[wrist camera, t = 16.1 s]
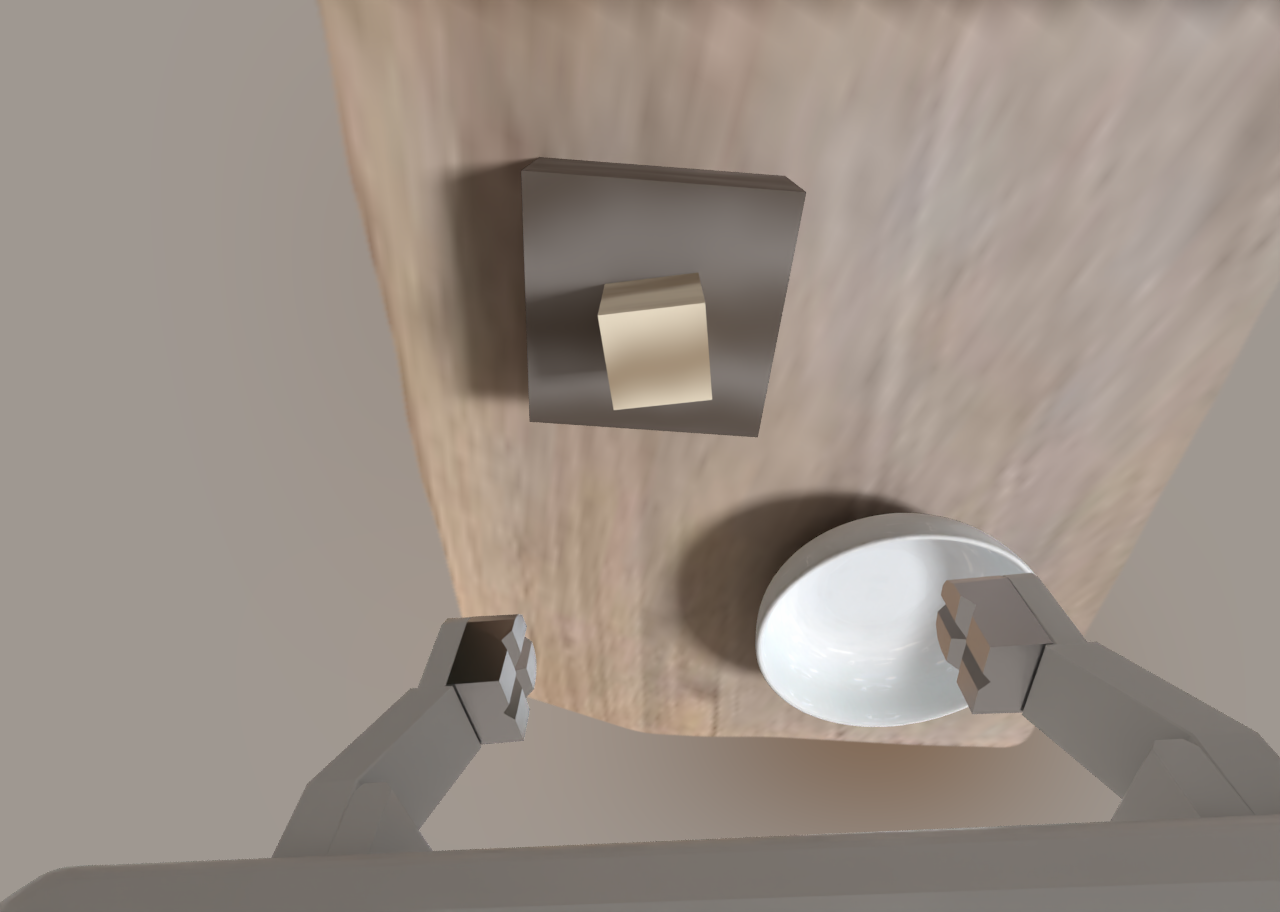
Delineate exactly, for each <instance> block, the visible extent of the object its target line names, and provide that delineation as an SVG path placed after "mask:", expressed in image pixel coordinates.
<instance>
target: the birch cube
mask: <svg viewBox="0 0 1280 912" xmlns="http://www.w3.org/2000/svg"><path fill="white" fill-rule="evenodd" d="M598 321H599V327H600V332H601V338H602V344H603V350H604V356H605V362H606V368H607V374H608V379H609V385H610V391H611V397H612V403H613V409H614V410H621V409H630V408H640V407H649V406H659V405H668V404H678V403H687V402H696V401H706V400H712V389H711V376H710V362H709V348H708V334H707V320H706V306H705V300H704V295H703V291H702V287H701V282H700V278H699V273H690V274H682V275H674V276H666V277H658V278H650V279H642V280H634V281H625V282H617V283H609V284H605V285H604V290H603V294H602V299H601V303H600V307H599V312H598Z"/></svg>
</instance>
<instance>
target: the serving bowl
mask: <svg viewBox="0 0 1280 912" xmlns="http://www.w3.org/2000/svg"><path fill="white" fill-rule="evenodd" d="M1023 573H1033V574H1034V572H1033V571H1032V570H1031V569H1030V568H1029V566H1028V565H1027V564H1025V563H1024V562H1023V561H1022V560H1021V559H1020V558H1019V557H1018V556H1017V555H1016V554H1015V553H1013V552H1012V551H1011V550H1010V549H1009V548H1007V547H1006V546H1005V545H1004V544H1002V543H1001V542H1000V541H998V540H997V539H995V538H994V537H992V536H990V535H988V534H987V533H985V532H983V531H981V530H979V529H977V528H975V527H973V526H970V525H968V524H965V523H963V522H960V521H957V520H953V519H949V518H945V517H941V516H935V515H930V514H920V513H891V514H882V515H876V516H870V517H866V518H862V519H858V520H855V521H852V522H848V523H846V524H843V525H840V526H838V527H835V528H833V529H831V530H829V531H827V532H825V533H823V534H821V535H819V536H817V537H816V538H814V539H813V540H811V541H810V542H808V543H807V544H805V545H804V546H803V547H801V548H800V549H799V550H798V551H797V552H795V553H794V554H793V555H792V556H791V557H790V558H789V559H788V560H787V561H786V562H785V563H784V564H783V565H782V567H781V568H780V569H779V571H778V572H777V573H776V575H775V576H774V577H773V579H772V580H771V582H770V584H769V586H768V588H767V590H766V592H765V594H764V596H763V599H762V602H761V605H760V608H759V612H758V618H757V624H756V641H755V649H756V657H757V661H758V665H759V668H760V670H761V673H762V675H763V676H764V678H765V680H766V682H767V683H768V684H769V686H770V687H771V688H772V689H773V690H774V691H775V692H776V693H777V694H778V695H779V696H780V697H781V698H782V699H783V700H785V701H786V702H787V703H789V704H790V705H792V706H793V707H795V708H797V709H799V710H800V711H802V712H804V713H806V714H809V715H811V716H814V717H817V718H820V719H823V720H826V721H830V722H834V723H839V724H845V725H852V726H863V727H890V726H899V725H907V724H913V723H919V722H924V721H928V720H932V719H936V718H939V717H942V716H946V715H948V714H951V713H954V712H957V711H959V710H962V709H964V708H966V707H969V706H968V704H967V702H966V700H965V698H964V696H963V694H962V692H961V690H960V688H959V686H958V684H957V678H958V673H959V670H958V669H956V668H955V667H954V666H952V665H951V664H949V663H948V662H947V661H946V659H945V657H944V655H943V653H942V651H941V648H940V645H939V642H938V638H937V630H936V620H937V612H938V611H939V610H940V609H941V608H942V607H943V606H944V605H945V602H944V600H943V598H942V596H941V592H942V587H943V584H944V583H945V582H946V580H953V579H965V578H976V577H987V576H998V575H1000V576H1003V575H1012V574H1023Z"/></svg>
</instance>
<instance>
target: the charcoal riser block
mask: <svg viewBox="0 0 1280 912" xmlns="http://www.w3.org/2000/svg"><path fill="white" fill-rule="evenodd" d="M521 181H522V211H523V240H524V269H525V299H526V328H527V357H528V387H529V416H530V422H543V423H557V424H572V425H586V426H601V427H616V428H630V429H645V430H659V431H674V432H689V433H703V434H718V435H733V436H747V437H758V433H759V428H760V423H761V418H762V413H763V408H764V403H765V398H766V393H767V388H768V383H769V377H770V372H771V367H772V362H773V357H774V352H775V347H776V342H777V337H778V332H779V327H780V322H781V317H782V312H783V307H784V302H785V297H786V292H787V287H788V281H789V276H790V271H791V266H792V261H793V256H794V251H795V246H796V241H797V236H798V231H799V226H800V221H801V216H802V211H803V206H804V201H805V196H806V192H805V191H804V190H803V189H801V188H800V187H799V186H797V185H796V184H795V183H794V182H792V181H791V180H790V179H788V178H787V177H786V176H778V175H765V174H752V173H739V172H726V171H713V170H700V169H687V168H674V167H661V166H648V165H634V164H621V163H608V162H595V161H582V160H569V159H556V158H543V157H539V158H538V159H537V160H535V161H534V162H532V163H531V164H530V165H528V166H527V167H525V168H524V169H523V170H521ZM690 273H699V278H700V282H701V287H702V291H703V295H704V300H705V306H706V320H707V334H708V348H709V362H710V376H711V389H712V400H706V401H696V402H687V403H678V404H668V405H659V406H649V407H640V408H630V409H621V410H614V409H613V403H612V397H611V391H610V385H609V379H608V374H607V368H606V362H605V356H604V350H603V344H602V338H601V332H600V327H599V321H598V312H599V307H600V303H601V299H602V294H603V290H604V285H605V284H609V283H617V282H625V281H634V280H642V279H650V278H658V277H666V276H674V275H682V274H690Z"/></svg>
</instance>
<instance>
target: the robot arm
mask: <svg viewBox="0 0 1280 912" xmlns="http://www.w3.org/2000/svg"><path fill="white" fill-rule="evenodd" d="M941 596H942V598H943V600H944V602H945V605H944V606H943V607H942V608H941V609H940V610H939V611H938V612H937V620H936V630H937V638H938V642H939V645H940V648H941V651H942V653H943V655H944V657H945V659H946V661H947V662H948V663H949V664H951V665H952V666H954V667H955V668H956V669H958V670H959V673H958V678H957V684H958V686H959V688H960V690H961V692H962V694H963V696H964V698H965V700H966V702H967V704H968V706H969V708H970V710H971V712H972V714H989V713H1019V712H1023V713H1022V715H1023V716H1024V717H1025V718H1026V719H1028V720H1029V721H1030V722H1031V723H1032V724H1033V725H1035V726H1036V727H1037V728H1038V729H1039V730H1041V731H1042V732H1043V733H1044V734H1045V735H1047V736H1048V737H1049V738H1050V739H1052V740H1053V741H1054V742H1055V743H1056V744H1057V745H1059V746H1060V747H1061V748H1062V749H1064V751H1066V752H1067V753H1068V754H1069V755H1070V756H1072V757H1073V758H1074V759H1075V760H1076V761H1078V762H1079V763H1080V764H1081V765H1083V766H1084V767H1085V768H1086V769H1087V770H1089V772H1091V773H1092V774H1093V775H1094V776H1095V777H1097V778H1098V779H1099V780H1100V781H1101V782H1103V783H1104V784H1105V785H1106V786H1108V787H1109V788H1110V789H1111V790H1112V791H1113V792H1115V793H1116V794H1117V795H1118V796H1119V797H1120V798H1122V801H1121V803H1120V804H1119V806H1118V808H1117V810H1116V812H1115V814H1114V815H1113V817H1112V819H1111V821H1110V822H1090V823H1069V824H1045V825H1022V826H998V827H975V828H955V829H954V828H952V829H929V830H907V831H906V830H905V831H882V832H859V833H836V834H813V835H790V836H769V837H745V838H725V839H724V838H723V839H701V840H681V841H680V840H678V841H656V842H633V843H610V844H586V845H565V846H564V845H563V846H542V847H520V848H519V847H518V848H494V849H470V850H451V851H450V850H448V851H432V849H431V848H430V846H429V845H428V843H427V842H426V840H425V839H424V837H423V836H422V834H421V833H420V832H419V829H420V828H421V826H422V825H423V824H424V822H425V821H426V820H427V818H428V817H429V816H430V814H431V813H432V812H433V810H434V809H435V808H436V806H437V805H438V804H439V802H440V801H441V800H442V798H443V797H444V796H445V795H446V793H447V792H448V791H449V789H450V788H451V787H452V785H453V784H454V782H455V781H456V780H457V779H458V777H459V776H460V775H461V773H462V772H463V771H464V769H465V768H466V767H467V765H468V764H469V763H470V761H471V760H472V759H473V757H474V756H475V755H476V754H477V752H478V751H479V750H480V748H481V745H480V744H491V743H503V742H514V741H524V736H525V731H526V726H527V721H528V716H529V711H530V708H529V706H528V703H527V700H526V697H527V696H528V695H529V694H530V693H531V692H532V691H533V689H534V685H535V679H536V656H535V650H534V647H533V644H532V641H530V640H529V639H527V638H526V637H525V632H526V627H527V626H526V624H525V621H524V618H523V616H522V615H519V614H516V615H497V616H478V617H466V618H448V619H447V620H446V621H445V622H444V623H443V624H442V626H441V628H440V631H439V633H438V636H437V639H436V641H435V644H434V646H433V649H432V652H431V654H430V657H429V659H428V662H427V665H426V667H425V670H424V673H423V675H422V678H421V680H420V683H419V686H418V688H412V689H410V690H408V691H407V692H406V693H405V694H404V695H403V696H402V697H401V698H400V699H399V700H398V701H397V702H395V703H394V704H393V705H392V706H391V707H390V708H389V709H388V710H387V711H386V712H385V713H383V714H382V715H381V716H380V717H379V718H378V719H377V720H376V721H375V722H374V723H373V724H372V725H371V726H369V727H368V728H367V729H366V730H365V731H364V732H363V733H362V734H361V735H360V736H359V737H357V739H355V740H354V741H353V742H352V743H351V744H350V745H349V746H348V747H347V748H346V749H345V750H344V751H342V752H341V753H340V754H339V755H338V756H337V757H336V758H335V759H334V760H333V761H331V762H330V763H329V764H328V765H327V766H326V767H325V768H324V769H323V770H322V771H321V772H320V773H318V774H317V775H316V776H315V777H314V778H313V779H312V780H311V781H310V782H309V783H308V784H307V785H306V788H305V790H304V792H303V794H302V796H301V798H300V800H299V802H298V804H297V806H296V808H295V810H294V812H293V814H292V816H291V819H290V821H289V823H288V825H287V827H286V829H285V831H284V833H283V835H282V837H281V839H280V841H279V843H278V846H277V847H276V849H275V851H274V854H273V856H272V858H259V859H237V860H236V859H235V860H212V861H191V862H189V861H188V862H165V863H142V864H118V865H88V866H87V865H86V866H71V867H64V868H59V869H56V870H53V871H50V872H47V873H45V874H43V875H41V876H39V877H38V878H36V879H34V880H33V881H31V882H30V883H28V884H27V885H25V886H24V887H22V888H20V889H19V890H17V891H16V892H14V893H13V894H12V895H10V896H9V897H7V898H6V899H4V900H3V901H2V902H0V912H1280V757H1279V756H1278V755H1277V754H1276V752H1275V751H1274V750H1273V749H1272V748H1271V747H1270V746H1269V745H1268V744H1267V743H1266V741H1265V740H1264V739H1263V738H1262V737H1261V736H1260V735H1259V734H1258V733H1257V732H1255V731H1254V730H1252V729H1250V728H1248V727H1247V726H1245V725H1243V724H1241V723H1240V722H1238V721H1236V720H1234V719H1232V718H1231V717H1229V716H1227V715H1225V714H1224V713H1222V712H1220V711H1218V710H1216V709H1215V708H1213V707H1211V706H1209V705H1207V704H1206V703H1204V702H1202V701H1201V700H1199V699H1197V698H1195V697H1193V696H1192V695H1190V694H1188V693H1186V692H1185V691H1183V690H1181V689H1179V688H1178V687H1176V686H1174V685H1172V684H1170V683H1168V682H1167V681H1165V680H1163V679H1161V678H1160V677H1158V676H1156V675H1155V674H1153V673H1151V672H1149V671H1147V670H1146V669H1144V668H1142V667H1140V666H1139V665H1137V664H1135V663H1133V662H1131V661H1130V660H1128V659H1126V658H1124V657H1123V656H1121V655H1119V654H1117V653H1115V652H1114V651H1112V650H1110V649H1108V648H1107V647H1105V646H1103V645H1101V644H1100V643H1098V642H1087V641H1086V639H1085V638H1084V637H1083V635H1082V634H1081V633H1080V632H1079V630H1078V629H1077V628H1076V626H1075V625H1074V624H1073V622H1072V621H1071V620H1070V618H1069V617H1068V616H1067V614H1066V613H1065V612H1064V610H1063V609H1062V608H1061V606H1060V605H1059V604H1058V602H1057V601H1056V600H1055V598H1054V597H1053V596H1052V595H1051V593H1050V592H1049V591H1048V589H1047V588H1046V587H1045V585H1044V584H1043V583H1042V581H1041V580H1040V579H1039V577H1038V576H1036V575H1035V574H1033V573H1023V574H1012V575H1003V576H1000V575H998V576H987V577H976V578H965V579H953V580H946V582H945V583H944V584H943V587H942V592H941Z"/></svg>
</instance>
